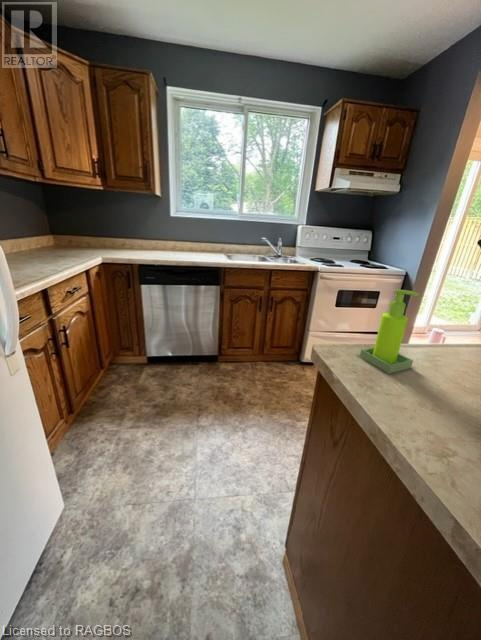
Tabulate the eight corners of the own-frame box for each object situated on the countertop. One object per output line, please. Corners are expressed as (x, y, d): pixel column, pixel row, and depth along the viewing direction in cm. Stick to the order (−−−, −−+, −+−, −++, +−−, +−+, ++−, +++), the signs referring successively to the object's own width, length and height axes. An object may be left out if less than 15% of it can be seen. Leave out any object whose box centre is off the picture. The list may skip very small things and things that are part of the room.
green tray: (359, 357, 77) (361, 349, 76) (380, 353, 80) (382, 345, 79) (388, 374, 69) (390, 365, 68) (410, 368, 72) (413, 360, 71)
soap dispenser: (397, 370, 70) (418, 295, 63) (369, 361, 74) (386, 289, 67) (401, 361, 75) (421, 291, 68) (374, 353, 78) (390, 286, 71)
